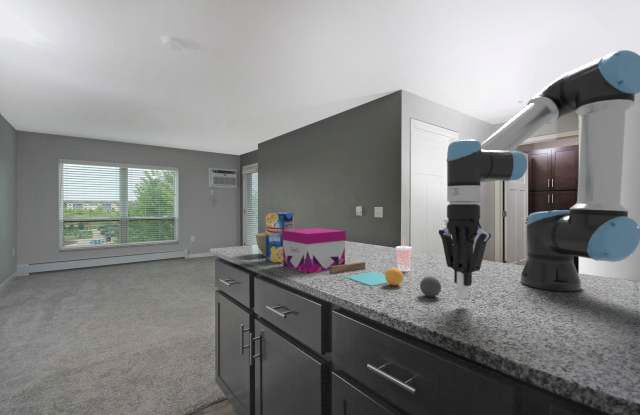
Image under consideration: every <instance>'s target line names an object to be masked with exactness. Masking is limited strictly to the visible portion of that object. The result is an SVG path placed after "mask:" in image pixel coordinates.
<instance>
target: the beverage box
mask: <svg viewBox="0 0 640 415" xmlns="http://www.w3.org/2000/svg"><path fill="white" fill-rule="evenodd" d="M294 218H295V217H294V212H265V233H266V256H265V261H266V262H269V261H273V262H272V263H277V262H281V263H280V264H283V240H282V231H283V230H295V224H294V223H295V222H294V221H295V219H294Z"/></svg>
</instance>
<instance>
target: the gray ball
mask: <svg viewBox="0 0 640 415" xmlns="http://www.w3.org/2000/svg"><path fill="white" fill-rule="evenodd" d="M419 287H420V288H419V289H420V291H421V292H422V293H423V295H424V296H426V297H429V298H434V297H436V296H439V294H440V293H441V291H442V286H441V282H440V280H438V278H436V277H433V276H426V277H424V278H423V279H421V281H420V285H419Z"/></svg>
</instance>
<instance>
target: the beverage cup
mask: <svg viewBox="0 0 640 415" xmlns="http://www.w3.org/2000/svg"><path fill="white" fill-rule="evenodd" d="M395 250H396V260H397V261H396V262H397V269H399V270H400V271H401V272H410V271H411V258H412V250H413V247H412V246H407V245H405V234H404V233H402V245H398V246H395Z"/></svg>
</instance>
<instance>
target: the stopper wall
mask: <svg viewBox="0 0 640 415" xmlns="http://www.w3.org/2000/svg"><path fill="white" fill-rule="evenodd" d="M365 269H366V262H365V261H362V262H361V261H360V262H351V263H347V264H346V263H345V265H337V266H330V270H329V273H330V274H331V275H332V274H340V273H347V272H352V271H353V272H354V271H359V270H365Z"/></svg>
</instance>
